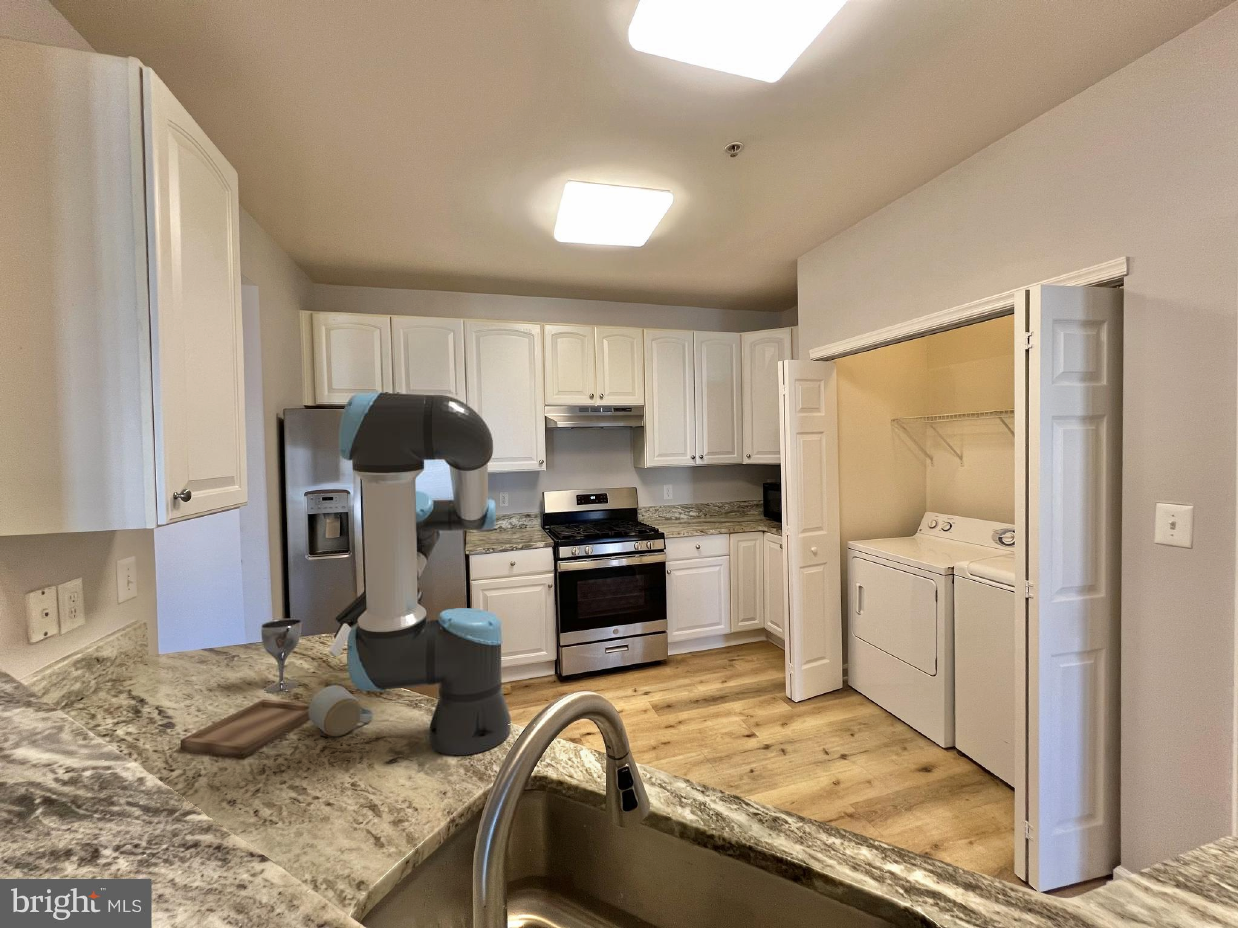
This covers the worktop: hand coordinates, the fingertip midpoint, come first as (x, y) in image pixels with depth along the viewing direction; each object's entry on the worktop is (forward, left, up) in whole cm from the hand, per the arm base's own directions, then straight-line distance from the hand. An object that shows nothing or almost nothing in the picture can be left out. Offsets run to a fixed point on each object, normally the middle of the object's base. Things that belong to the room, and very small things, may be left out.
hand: (360, 656), depth 108 cm
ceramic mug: (-1, +6, -12) cm, 13 cm away
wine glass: (+27, -8, -12) cm, 31 cm away
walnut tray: (+14, +11, -11) cm, 22 cm away
